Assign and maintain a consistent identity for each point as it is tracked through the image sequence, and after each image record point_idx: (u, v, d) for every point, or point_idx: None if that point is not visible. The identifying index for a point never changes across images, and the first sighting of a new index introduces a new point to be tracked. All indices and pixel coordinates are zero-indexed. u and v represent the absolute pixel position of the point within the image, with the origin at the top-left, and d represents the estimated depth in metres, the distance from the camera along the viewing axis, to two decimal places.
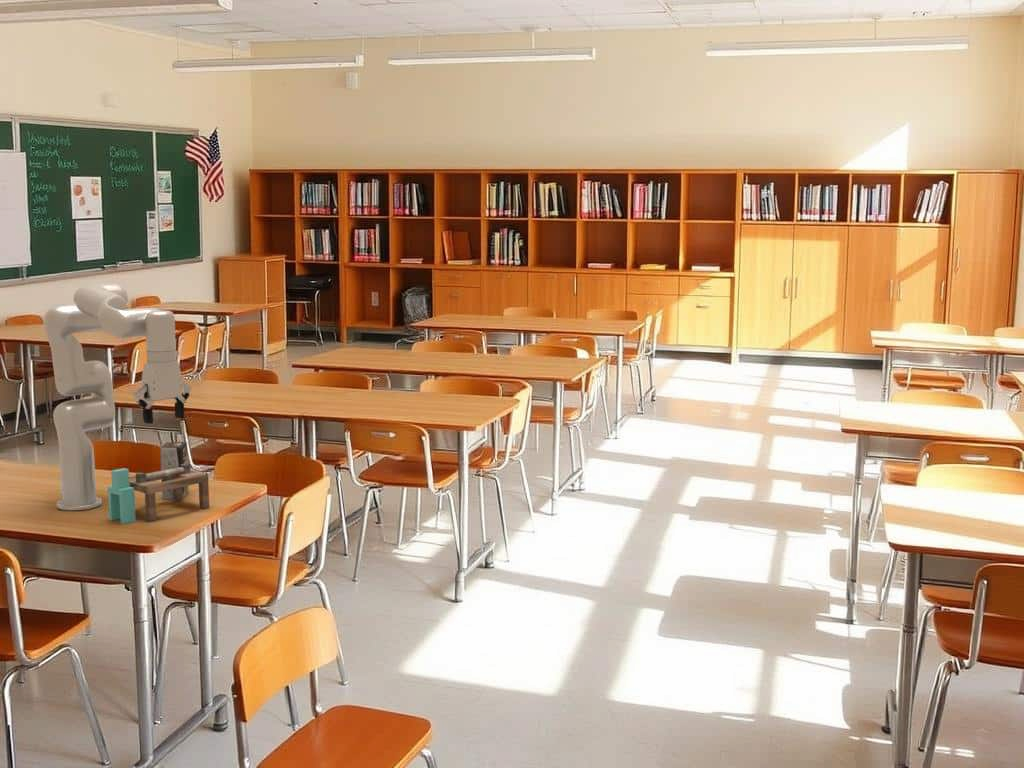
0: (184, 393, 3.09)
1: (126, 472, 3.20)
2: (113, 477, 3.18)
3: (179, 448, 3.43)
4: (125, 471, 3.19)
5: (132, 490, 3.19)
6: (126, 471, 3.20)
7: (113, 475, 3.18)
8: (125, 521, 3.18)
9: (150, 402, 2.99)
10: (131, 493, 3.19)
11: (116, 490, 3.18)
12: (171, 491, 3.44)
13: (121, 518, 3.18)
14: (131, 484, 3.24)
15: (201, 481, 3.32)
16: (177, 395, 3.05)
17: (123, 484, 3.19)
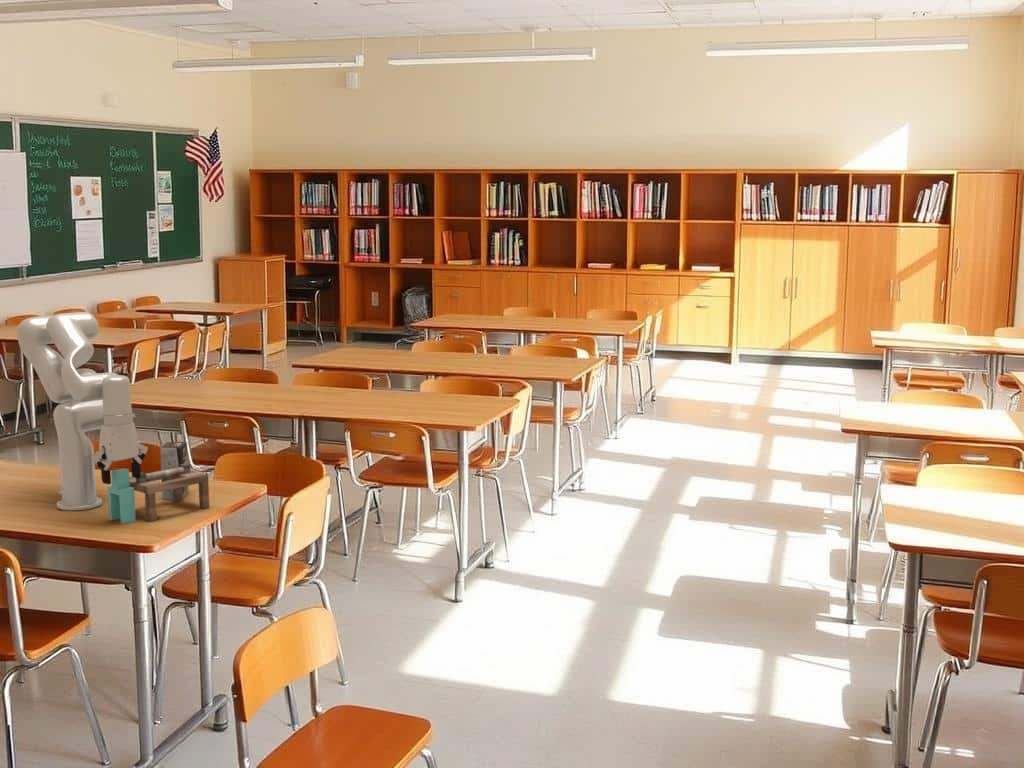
0: (140, 454, 3.23)
1: (126, 472, 3.20)
2: (113, 477, 3.18)
3: (179, 448, 3.43)
4: (125, 471, 3.19)
5: (132, 490, 3.19)
6: (126, 471, 3.20)
7: (113, 475, 3.18)
8: (125, 521, 3.18)
9: (108, 464, 3.14)
10: (131, 493, 3.19)
11: (116, 490, 3.18)
12: (171, 491, 3.44)
13: (121, 518, 3.18)
14: (131, 484, 3.24)
15: (201, 481, 3.32)
16: (134, 455, 3.19)
17: (123, 484, 3.19)
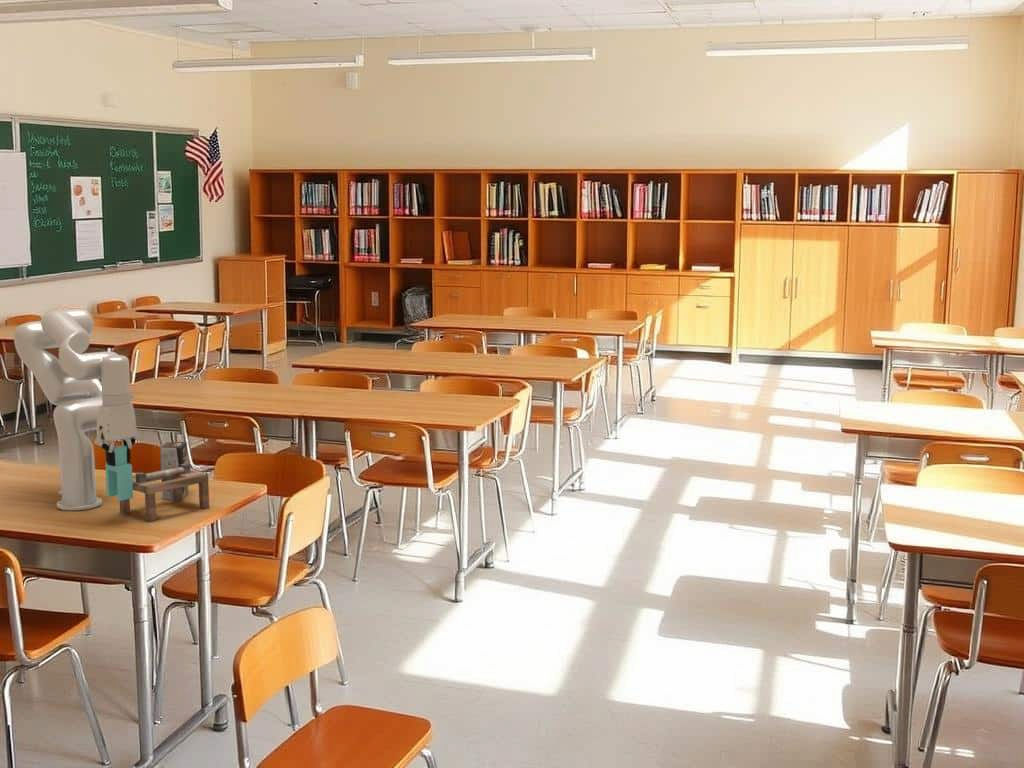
0: (130, 439, 3.21)
1: (124, 449, 3.19)
2: None
3: (179, 448, 3.43)
4: (123, 448, 3.19)
5: (130, 467, 3.19)
6: (124, 448, 3.19)
7: None
8: (122, 498, 3.18)
9: (111, 445, 3.15)
10: (129, 470, 3.19)
11: (114, 467, 3.17)
12: (171, 491, 3.44)
13: (118, 495, 3.18)
14: None
15: (201, 481, 3.32)
16: (131, 436, 3.19)
17: (121, 461, 3.19)
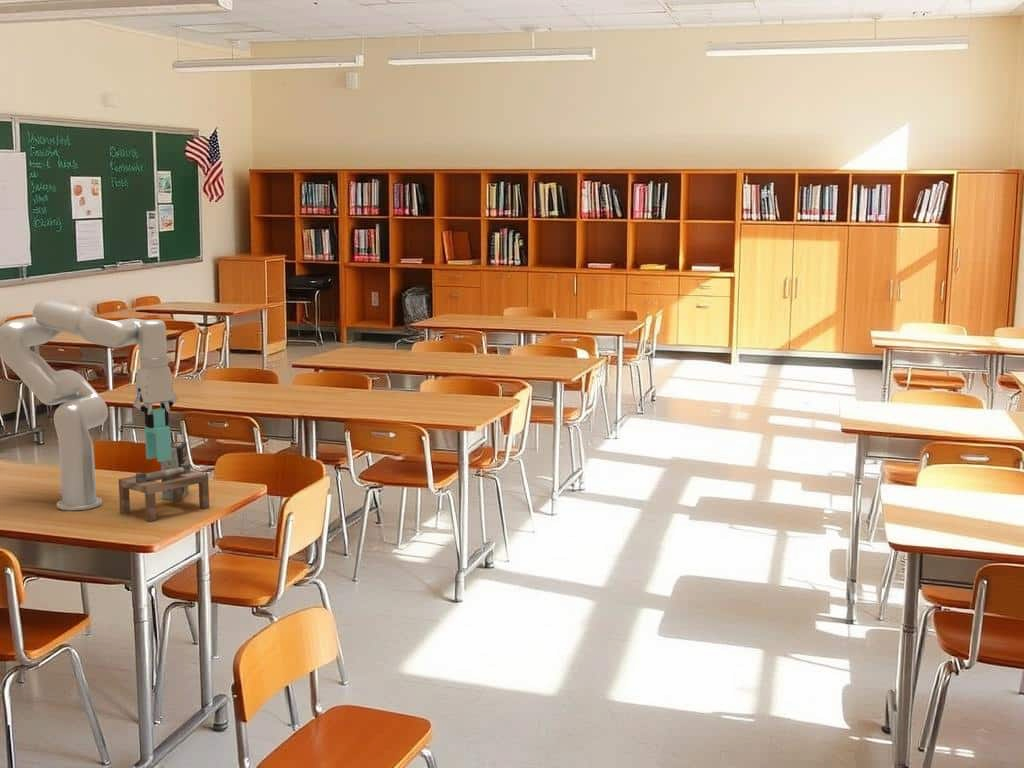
0: (168, 402, 3.29)
1: (162, 411, 3.27)
2: None
3: (179, 448, 3.43)
4: (161, 410, 3.26)
5: (168, 429, 3.26)
6: (162, 410, 3.27)
7: None
8: (161, 460, 3.25)
9: (149, 408, 3.23)
10: (167, 432, 3.26)
11: (152, 429, 3.25)
12: (171, 491, 3.44)
13: (157, 456, 3.25)
14: (131, 484, 3.24)
15: (201, 481, 3.32)
16: (169, 399, 3.27)
17: (160, 423, 3.26)
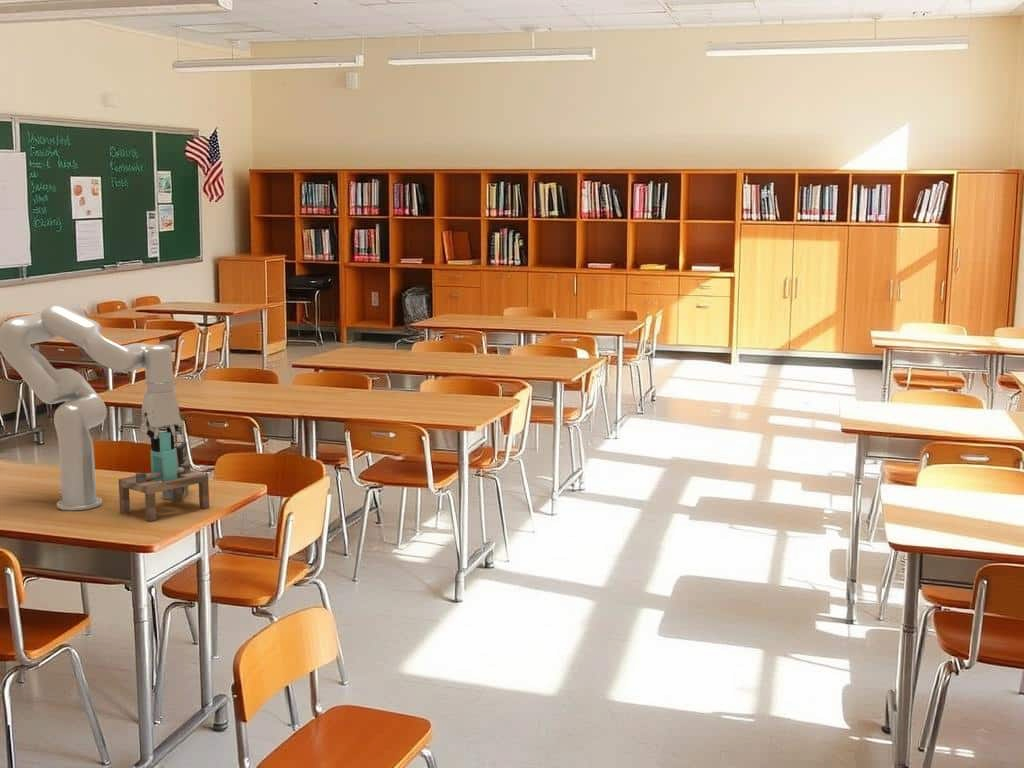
0: (174, 425, 3.32)
1: (168, 435, 3.29)
2: None
3: (179, 448, 3.43)
4: (167, 434, 3.29)
5: (174, 453, 3.29)
6: (168, 434, 3.29)
7: None
8: None
9: (155, 432, 3.26)
10: (173, 456, 3.29)
11: (159, 453, 3.27)
12: (171, 491, 3.44)
13: (164, 480, 3.28)
14: (131, 484, 3.24)
15: (201, 481, 3.32)
16: (174, 422, 3.29)
17: (166, 447, 3.29)
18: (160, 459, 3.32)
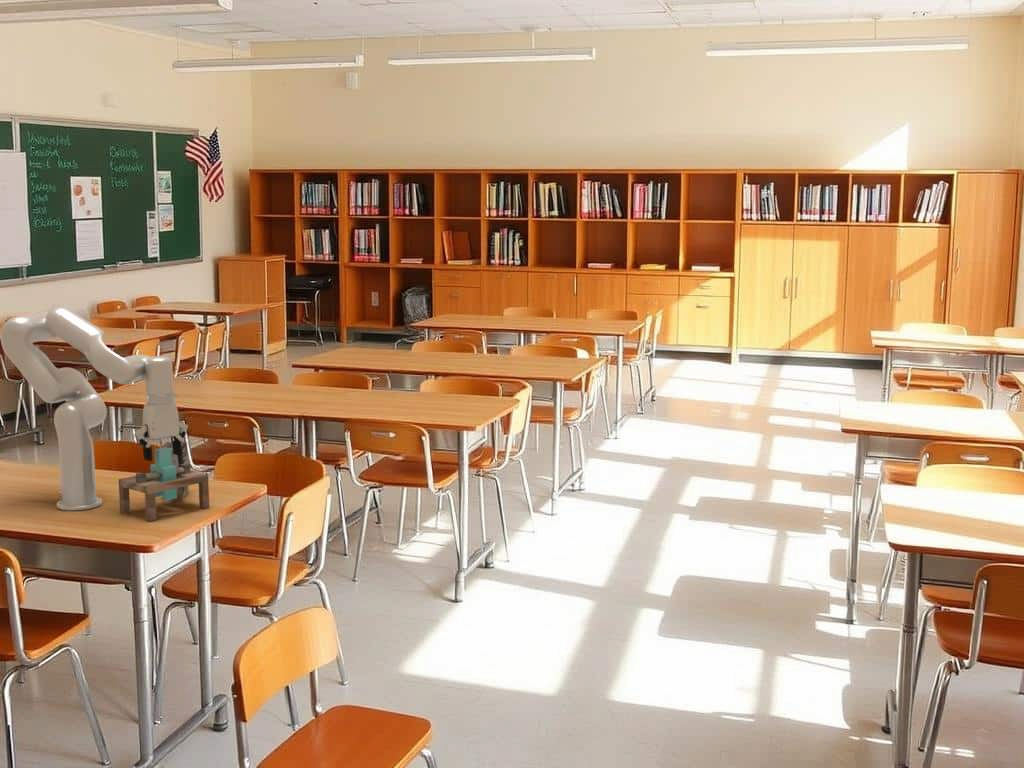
0: (181, 432, 3.34)
1: (168, 451, 3.30)
2: (156, 455, 3.28)
3: None
4: (167, 450, 3.29)
5: (174, 468, 3.29)
6: (168, 450, 3.30)
7: (156, 454, 3.28)
8: (167, 499, 3.29)
9: (150, 441, 3.25)
10: (173, 472, 3.29)
11: (159, 468, 3.28)
12: None
13: (163, 495, 3.28)
14: (131, 484, 3.24)
15: (201, 481, 3.32)
16: (175, 434, 3.30)
17: (166, 463, 3.30)
18: None
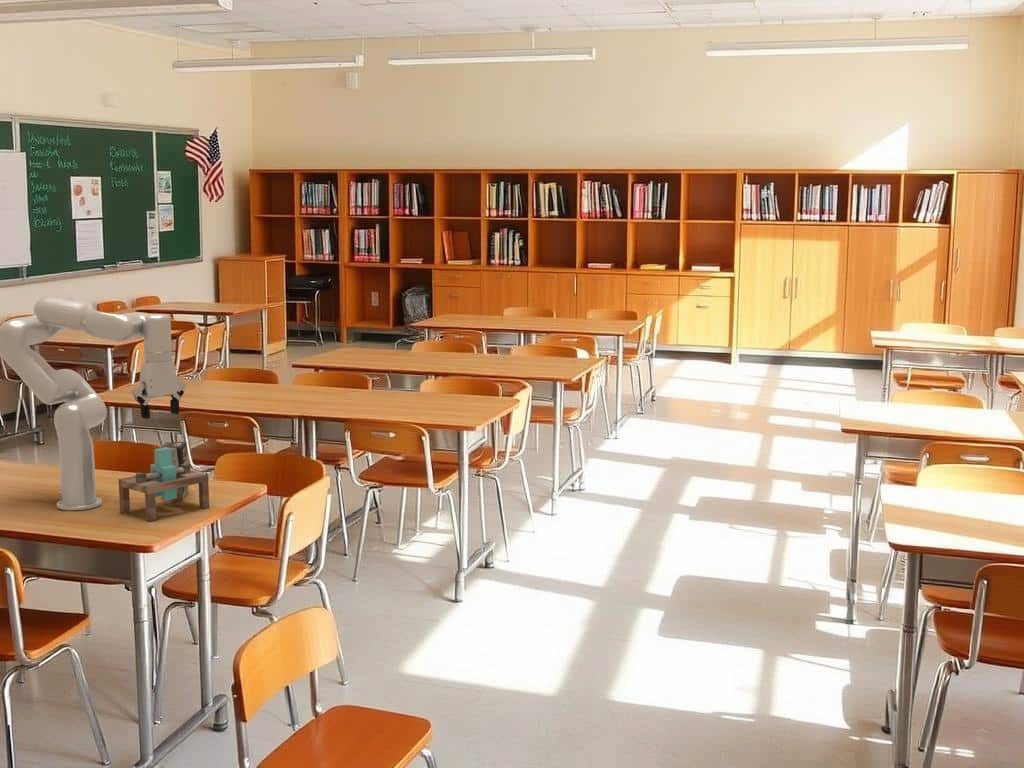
0: (179, 391, 3.32)
1: (168, 451, 3.30)
2: (156, 455, 3.28)
3: (179, 448, 3.43)
4: (167, 450, 3.29)
5: (174, 468, 3.29)
6: (168, 450, 3.30)
7: (156, 454, 3.28)
8: (167, 499, 3.29)
9: (147, 399, 3.23)
10: (173, 472, 3.29)
11: (159, 468, 3.28)
12: None
13: (163, 495, 3.28)
14: (131, 484, 3.24)
15: (201, 481, 3.32)
16: (172, 392, 3.28)
17: (166, 463, 3.30)
18: None
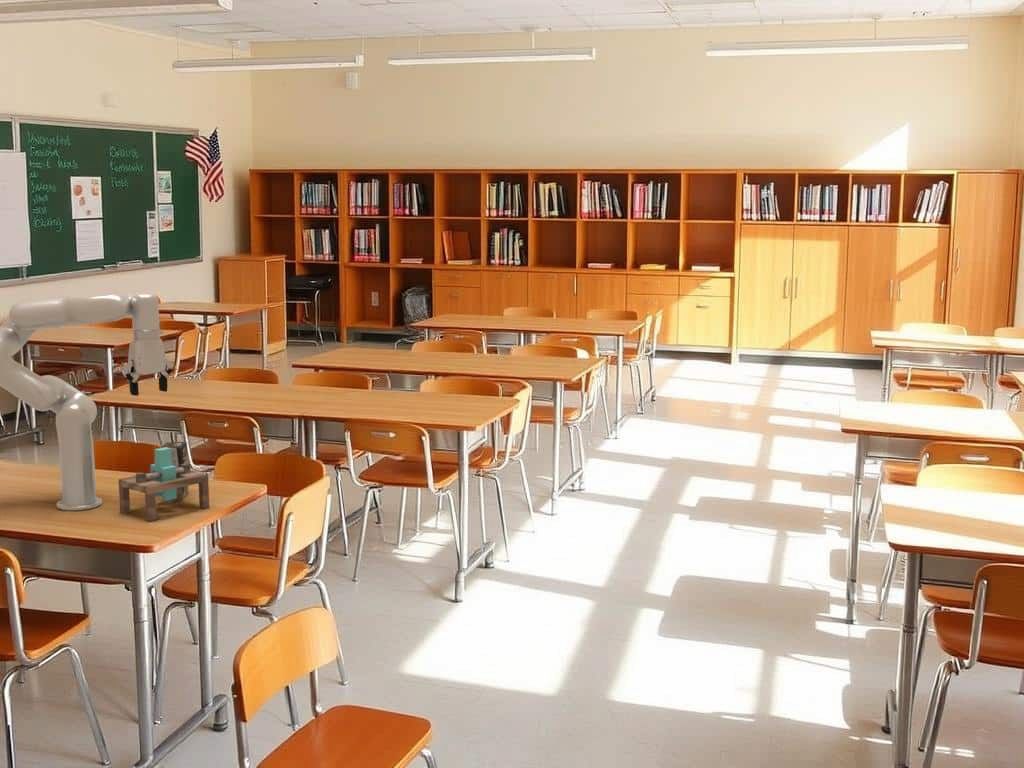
0: (167, 369, 3.40)
1: (169, 451, 3.30)
2: (156, 456, 3.28)
3: (179, 448, 3.43)
4: (168, 450, 3.29)
5: (174, 469, 3.29)
6: (169, 450, 3.30)
7: (156, 454, 3.28)
8: (166, 499, 3.29)
9: (136, 376, 3.30)
10: (173, 472, 3.29)
11: (159, 468, 3.28)
12: None
13: (163, 495, 3.28)
14: (131, 484, 3.24)
15: (201, 481, 3.32)
16: (161, 370, 3.36)
17: (166, 463, 3.30)
18: None
